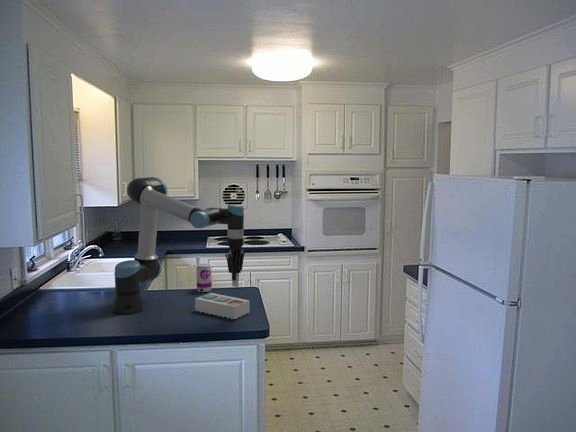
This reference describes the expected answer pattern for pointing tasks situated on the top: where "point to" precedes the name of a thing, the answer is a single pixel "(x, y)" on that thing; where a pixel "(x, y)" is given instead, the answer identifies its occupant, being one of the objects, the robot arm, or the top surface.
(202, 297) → the teal key
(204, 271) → the supplement can
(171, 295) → the top surface
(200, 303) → the keypad
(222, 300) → the grey key
